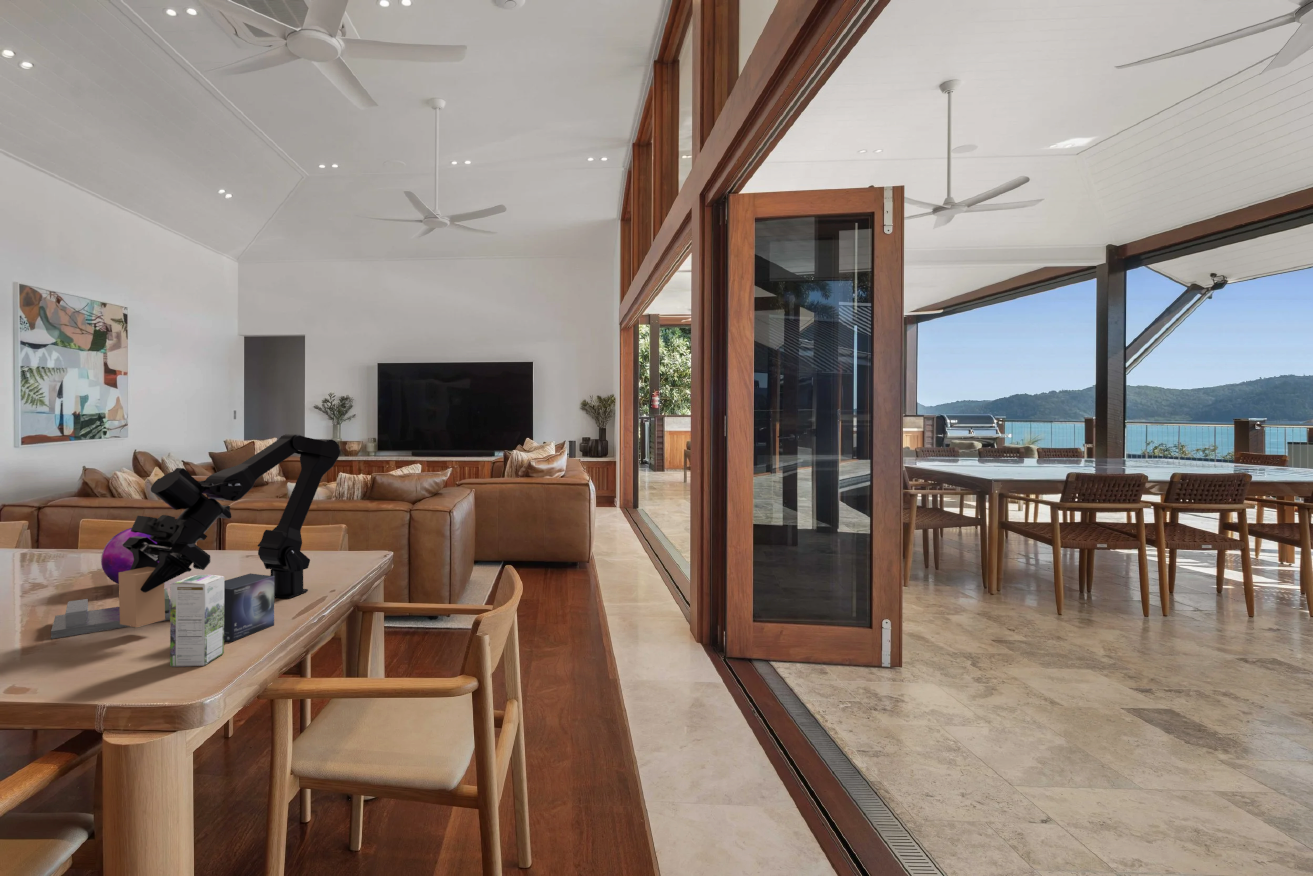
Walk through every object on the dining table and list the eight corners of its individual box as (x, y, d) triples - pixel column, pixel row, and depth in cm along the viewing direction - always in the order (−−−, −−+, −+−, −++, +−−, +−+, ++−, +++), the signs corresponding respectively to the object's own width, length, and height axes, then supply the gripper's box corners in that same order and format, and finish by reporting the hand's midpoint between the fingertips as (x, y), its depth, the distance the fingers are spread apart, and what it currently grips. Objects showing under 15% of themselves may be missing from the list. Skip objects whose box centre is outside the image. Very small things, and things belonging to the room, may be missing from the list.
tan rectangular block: (148, 616, 126) (147, 566, 125) (165, 619, 124) (164, 569, 124) (119, 624, 121) (118, 572, 121) (136, 627, 119) (135, 575, 119)
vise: (188, 603, 144) (188, 584, 144) (193, 616, 135) (193, 596, 134) (55, 622, 129) (55, 602, 129) (51, 639, 120) (50, 616, 120)
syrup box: (191, 654, 113) (190, 574, 113) (225, 654, 114) (224, 574, 113) (169, 667, 108) (168, 583, 107) (206, 666, 108) (204, 582, 108)
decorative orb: (190, 584, 159) (189, 525, 159) (115, 598, 147) (114, 534, 146) (164, 575, 167) (164, 519, 167) (91, 588, 155) (90, 527, 154)
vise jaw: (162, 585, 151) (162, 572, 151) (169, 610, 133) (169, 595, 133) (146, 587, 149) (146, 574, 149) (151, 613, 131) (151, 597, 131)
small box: (232, 643, 119) (231, 588, 119) (203, 640, 121) (202, 586, 120) (276, 625, 130) (276, 574, 129) (249, 622, 131) (249, 572, 131)
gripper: (132, 496, 129) (67, 562, 119) (193, 502, 122) (129, 572, 112) (175, 528, 136) (117, 592, 127) (234, 535, 130) (178, 603, 120)
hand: (133, 589), depth 121 cm, fingers closed on tan rectangular block, 5 cm apart
